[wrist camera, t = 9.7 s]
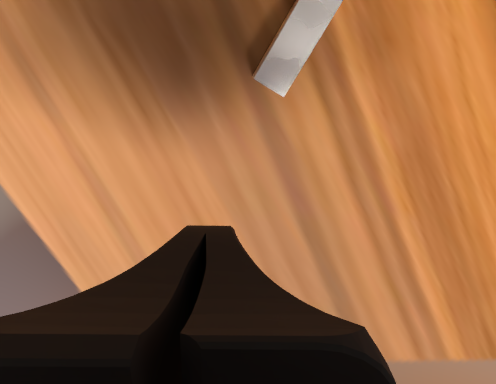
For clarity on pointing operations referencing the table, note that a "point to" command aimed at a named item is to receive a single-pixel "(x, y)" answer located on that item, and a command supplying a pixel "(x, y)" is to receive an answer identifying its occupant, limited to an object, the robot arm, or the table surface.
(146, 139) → the table surface
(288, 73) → the rail dock
